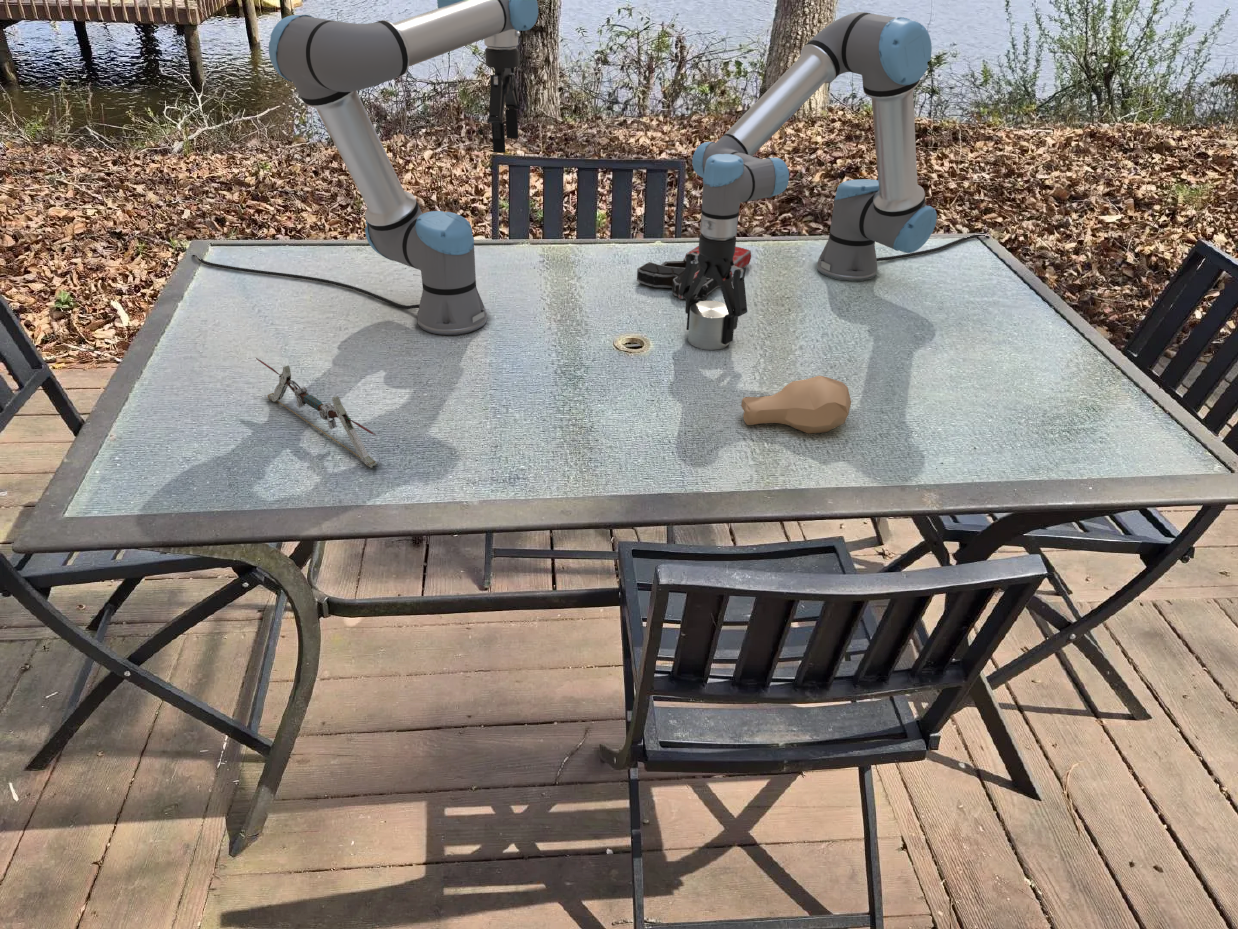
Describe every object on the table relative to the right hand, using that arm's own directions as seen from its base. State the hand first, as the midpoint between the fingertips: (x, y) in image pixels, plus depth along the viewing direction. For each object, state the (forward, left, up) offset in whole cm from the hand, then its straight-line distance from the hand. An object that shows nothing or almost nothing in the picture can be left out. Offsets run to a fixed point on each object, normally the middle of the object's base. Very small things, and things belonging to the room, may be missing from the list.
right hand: (709, 335), depth 191 cm
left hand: (+2, -63, +29) cm, 69 cm away
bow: (+80, -27, -1) cm, 84 cm away
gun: (-28, -25, -1) cm, 37 cm away
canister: (0, 0, -1) cm, 1 cm away
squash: (+17, +33, -1) cm, 37 cm away
